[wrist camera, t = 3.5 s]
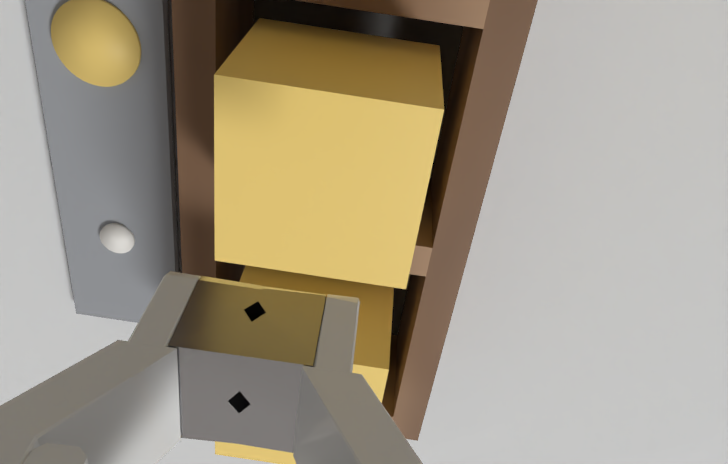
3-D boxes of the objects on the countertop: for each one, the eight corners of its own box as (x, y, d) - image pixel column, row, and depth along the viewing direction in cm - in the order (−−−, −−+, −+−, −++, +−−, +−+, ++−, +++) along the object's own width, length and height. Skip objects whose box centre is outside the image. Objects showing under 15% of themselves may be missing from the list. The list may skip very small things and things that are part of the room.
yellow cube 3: (439, 45, 15) (444, 109, 12) (409, 200, 18) (406, 289, 14) (259, 17, 15) (214, 74, 12) (253, 176, 18) (214, 260, 14)
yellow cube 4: (394, 273, 19) (388, 369, 16) (374, 374, 22) (366, 476, 18) (251, 251, 19) (215, 343, 16) (247, 355, 22) (215, 454, 18)
